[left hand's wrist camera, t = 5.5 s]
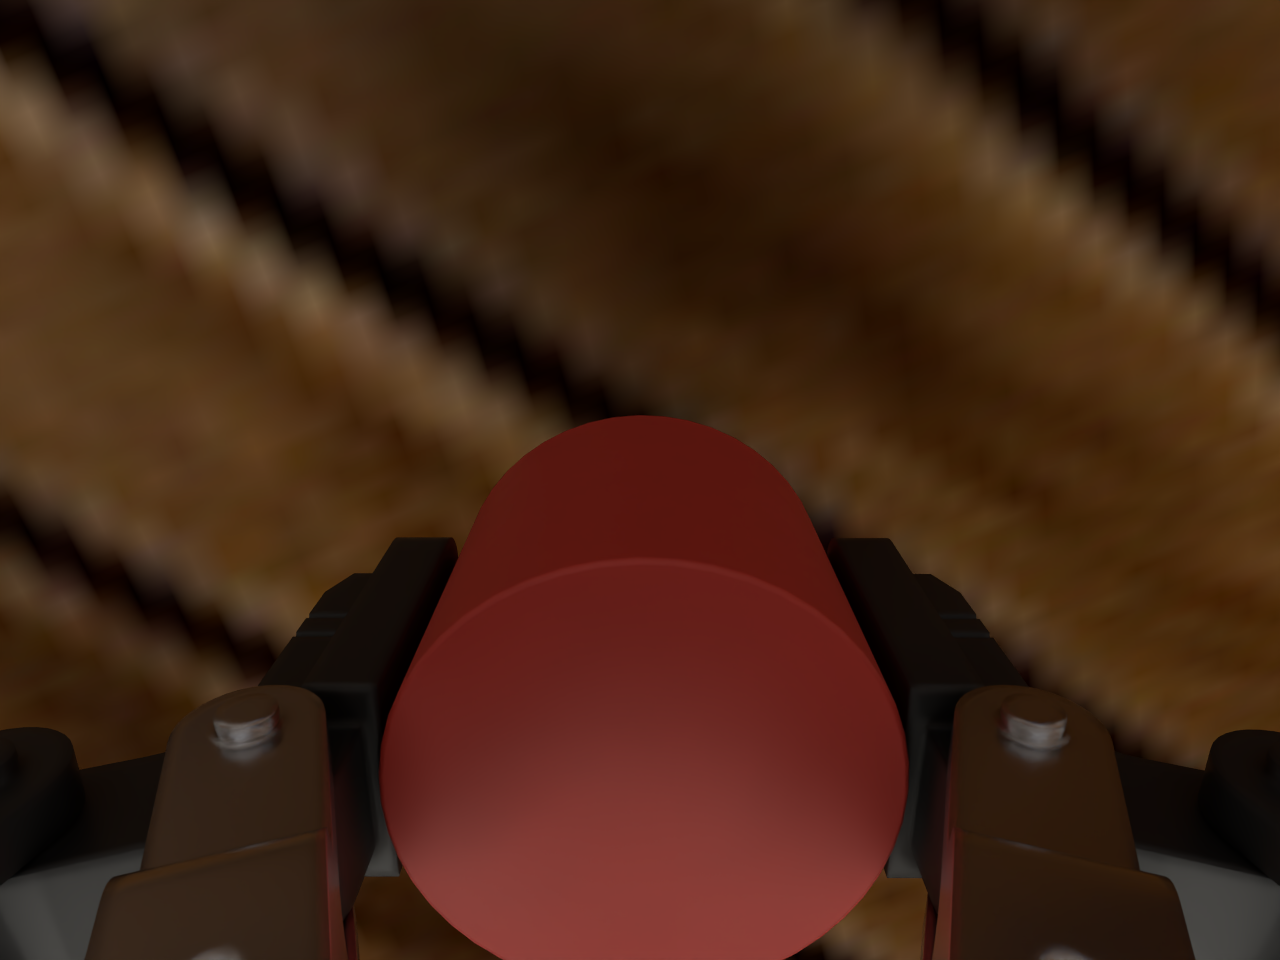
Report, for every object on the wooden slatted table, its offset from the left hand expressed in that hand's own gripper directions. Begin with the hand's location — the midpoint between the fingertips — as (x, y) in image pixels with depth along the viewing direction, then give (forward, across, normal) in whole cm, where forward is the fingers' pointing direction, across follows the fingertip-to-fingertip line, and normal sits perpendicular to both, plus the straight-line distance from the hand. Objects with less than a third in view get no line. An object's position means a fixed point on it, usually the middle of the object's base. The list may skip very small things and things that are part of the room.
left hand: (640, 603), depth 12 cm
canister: (0, 0, 0) cm, 0 cm away
